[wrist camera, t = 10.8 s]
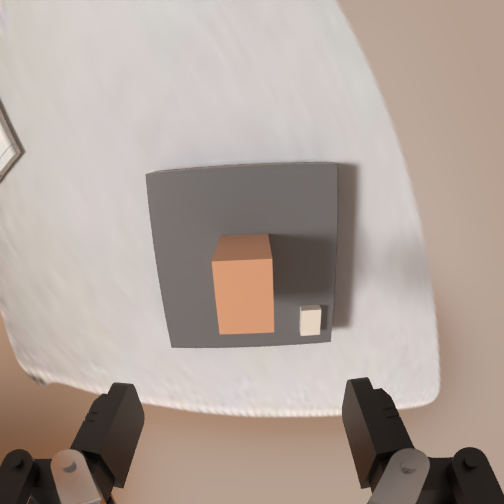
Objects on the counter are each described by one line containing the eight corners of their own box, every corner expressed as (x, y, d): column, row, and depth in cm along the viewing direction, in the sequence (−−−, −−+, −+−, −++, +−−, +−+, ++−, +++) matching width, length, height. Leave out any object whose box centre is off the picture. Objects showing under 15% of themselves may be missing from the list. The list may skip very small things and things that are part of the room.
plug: (223, 227, 26) (211, 261, 19) (266, 225, 26) (272, 258, 18) (228, 283, 28) (219, 334, 20) (268, 282, 28) (274, 332, 20)
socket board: (155, 171, 25) (142, 175, 21) (329, 162, 24) (339, 164, 21) (177, 332, 29) (169, 352, 26) (325, 327, 29) (332, 346, 26)
